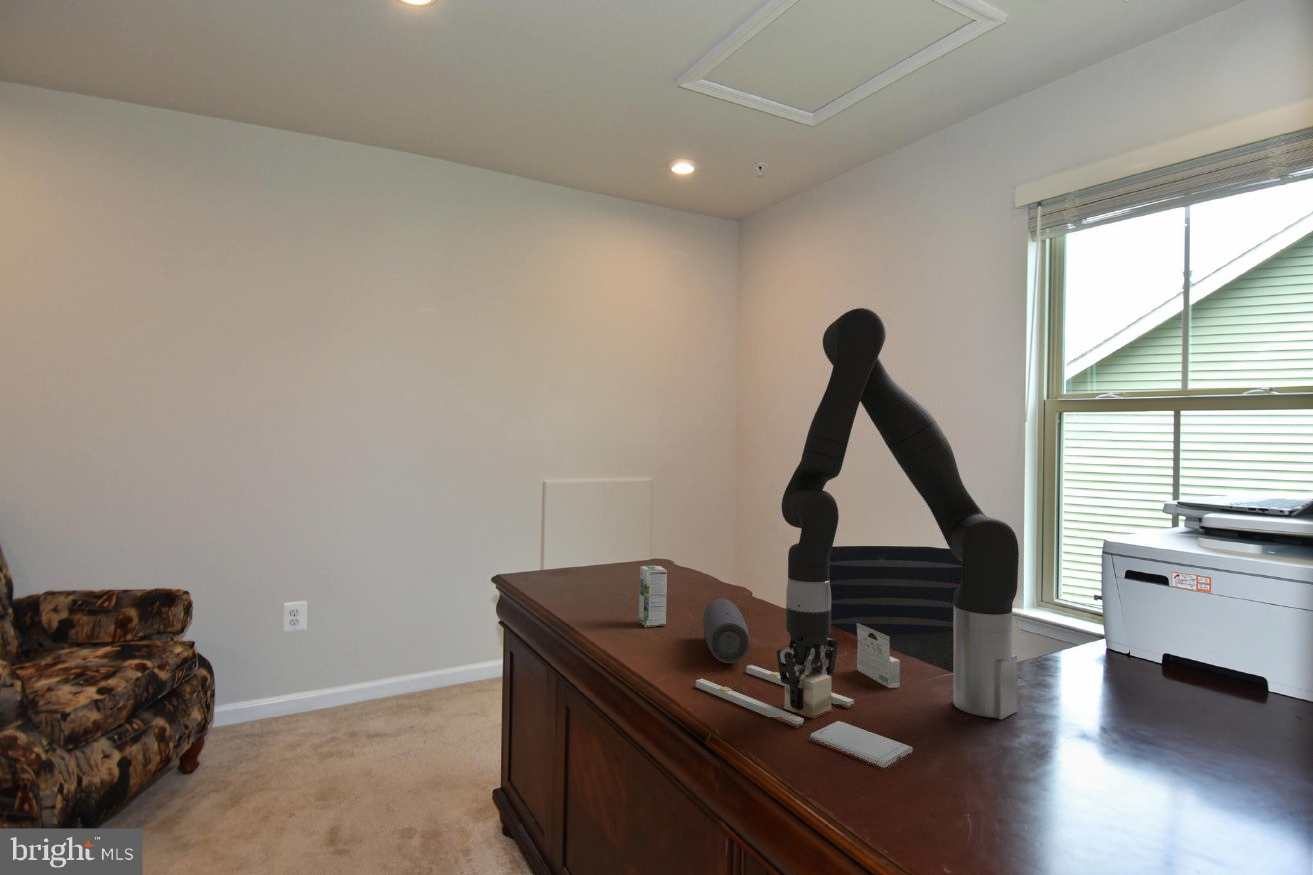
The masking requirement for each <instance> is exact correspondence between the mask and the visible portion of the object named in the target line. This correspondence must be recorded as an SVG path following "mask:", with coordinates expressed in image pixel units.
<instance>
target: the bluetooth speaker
mask: <svg viewBox="0 0 1313 875" xmlns="http://www.w3.org/2000/svg"><path fill="white" fill-rule="evenodd" d="M702 622H703V623H702V624H703V635H704V639H705V641H706V643H707V646H708V649H709V651H710V652H711V654H712V655H713V656H714V658H715V659H717V660H718V661H720V662H721V663H725V664H735V663H738V662H739V661H742V660H743V659H744V658H745V657H746V655H747V654H748V652H749V650H750V645H751V643H750V642H751V640H750V633H749V630H748V627H747V623H746V621H745V618H744V617H743V615H742V613H741V611H740V610H739V608H738V607H737V606H736V604H735V603H733V602H732V601H731V600H729V599H727V598H716V599H714V600H712V601H711V602H709V603H708V604H707V606H706V607H705V609H704V611H703V618H702Z"/></svg>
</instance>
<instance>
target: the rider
mask: <svg viewBox="0 0 1313 875" xmlns="http://www.w3.org/2000/svg"><path fill="white" fill-rule="evenodd" d="M787 677H789V675H788V673H787ZM798 677H799V673H798V672H797V673H796V679H797V680H798ZM803 688H804V703H803V709H802V710H797V709H794V708H792V707H791V704H790V686H789V685H787V684H785V686H784V709H785V710H788V711H791V712H793V713H795V712H796V711H799V712H800V711H801V712H804V713H808V714H809V715H817V714H820V713H823V712H825V711H829V710H831V711H832V703H831V692H832V675H831V676H830V675H828V676H827V675H824V674H820V673H819V672H817V671H811V669H810V670H809V674H808V675H806V676H805V680H804V685H803Z"/></svg>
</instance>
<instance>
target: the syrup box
mask: <svg viewBox="0 0 1313 875" xmlns="http://www.w3.org/2000/svg"><path fill="white" fill-rule="evenodd" d="M639 568H640V569H639V596H638V598H639V600H638V602H639V603H638V604H639V605H638V621H639V620H640V621H641V622H642V624H644V626H647V625H648V626H649V625H659V624H666V625H667V590H668V589H667V583H668V582H667V581H668V580H667V579H668V574H667V573H668V570H667V569H665V568H664V567H662V566H661V565H644V566H640V567H639Z"/></svg>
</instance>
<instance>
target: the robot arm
mask: <svg viewBox="0 0 1313 875" xmlns="http://www.w3.org/2000/svg"><path fill="white" fill-rule="evenodd" d="M886 334H887V331H886V326H885V323H884V321H883V319H882V318H881V316H880V315H879V314H878V313H877V312H876V311H874V310H872V309H869V308H864V307H857V308H852V309H851V310H848V311H846V312H844V313H843V314H842V315H840V316H839V317H838V318H837V319H835V320H834V321H833V322H832V323H830V324H829V326H827V328H826V329H825V331H824V334H823V336H822V348H823V350H824V354H825V356H826V358H827V359H828V361H829V363H831V365H832V369H831V373H830V374H831V375H830V377H829V381H828V383H827V385H826V389H825V390H824V394H823V397H822V398H821V400H820V402H819V405H818V406H817V409H816V411H815V413H814V416H813V419H812V420H811V423H810V426H809V429H808V432H807V436H806V440H805V443H804V447H803V451H802V454H801V460H800V462H799V464H798V465H797V467H796V469H795V470H794V472H793V474H792V476H791V478H790V480H789V481H788V484H787V486H786V488H785V490H784V493H783V494H782V495H783V496H782V499H781V515H782V517H783V519H784V521H785V522H786V523H787V524H788V525H790V526H791V527H794V528H798V529H801V530H800V535H799V539H798V540H799V541H798V542H797V543H795V544H792V545H791V546H790V547H789V548H788V553H787V554H788V556H787V557H788V558H787V585H786V593H785V595H786V596H785V598H786V599H785V602H786V603H785V614H786V615H785V630H786V632H787V633H789V637H790V640H789V642H788V647H786V648H785V649H780V648H779V649H777V650H776V658H777V666H778V673H780V679H781V682H782V683H784V684H787V685H789V686H790V704H791V707H792V708H794V709H797V710H802V709H803V703H804V688H803V685H804V680H805V676H806V675H808V674H809V670H811V671H817V672H819V673H820V674H824V675H827V676H830V675H831V676H833V675H834V673H835V668H836V666H835V665H836V661H837V653H838V645H839V641H838V640H836V639H834V638H830V637H827V636H829V635H831V632H832V592H831V591H832V590H831V583H830V582H831V580H830V579H831V578H830V577H831V575H830V572H831V566H830V565H831V564H830V563H831V562H830V561H831V560H830V558H831V557H830V556H831V552H832V549H833V545H834V543H835V537H836V533H837V530H838V526H839V525H838V524H839V517H840V516H839V508H838V504H837V501H836V499H835V498H834V496H833V495H832V494H831V493H829V492H828V491H826V490H824V488H825V486H826V484H827V482H829V481H831V480H833V479H835V478H837V477H838V476H839V475H840V473H841V470H842V467H843V463H844V460H845V457H846V453H847V450H848V445H849V440H850V437H851V433H852V429H853V426H854V422H855V418H856V415H857V411H858V408H859V405H860V404H861V405H862V407H863V408H864V410H865V412H866V413H867V415H868V416H869V418H870V420H871V421H872V423H873V425H874V426H875V428H876V429H877V431H878V432H879V434H880V436H881V438H882V440H883V441H884V443H885V445H886V446H887V448H888V449H889V451H890V453H891V454H892V456H893V457H894V459H895V461H896V462H897V463H898V465H899V467H900V468H901V469H902V471H903V472H904V474H905V475H906V477H907V478H908V479H909V480H908V481H910V482H911V484H912V485H913V486H914V488H915V490H916V491H917V492H918V494H919V495H920V496H921V498H922V499H923V501H925V502H924V503H926V506H928V508H929V510H930V512H931V514H932V515H933V516H932V517H933V518H934V520H935V521H936V524H937V526H938V528H939V529H940V530H939V531H940V532H941V534H942V536H943V538H944V540H945V542H946V544H947V546H948V548H949V550H950V551H951V553H952V555H953V556H954V557H955V558H956V559H957V560H959V562H961V577H960V578H961V580H960V583H959V586H958V587H957V588H956V589H955V590H954V592H953V652H952V653H953V654H952V655H953V675H952V676H953V681H952V682H953V688H952V694H953V700H952V701H953V705H954V707H955V708H957V709H958V710H960V711H962V712H964V713H967V714H971V715H975V716H979V717H986V718H994V719H998V720H1004V719H1005V718H1008V717H1009V716H1011V715H1013V714H1015V713H1017V712H1018V656H1017V655H1016V654H1013V603H1014V601H1015V599H1016V596H1017V593H1018V582H1019V579H1018V578H1019V564H1020V563H1019V562H1020V561H1019V559H1020V557H1019V556H1020V553H1019V550H1020V548H1019V542H1018V538H1017V535H1016V533H1015V531H1014V530H1013V528H1012V527H1011V526H1010V525H1009V524H1008V523H1007V522H1005V521H1003V520H1001V519H998V518H994V517H989V516H987V515H986V514H985V513H984V512H983V511H982V509H981V508H980V507H979V505H978V504H977V502H975V500H974V499H973V497H972V496H971V494H970V493H969V492H968V490H967V488H966V487H965V484H964V483H963V480H962V478H961V475H960V472H959V469H958V468H959V467H958V464H957V461H956V458H955V454H954V451H953V450H952V449H953V448H952V446H951V444H950V443H949V441H948V438H947V437H946V435H945V433H944V432H943V430H942V429H941V427H940V426H939V424H938V422H937V421H936V419H935V417H934V416H933V415H932V414H931V412H930V411H929V410H928V408H926V406H925V405H923V404H922V403H921V402H920V401H919V400H918V399H917V398H916V397H915V396H913V395H912V394H910V392H908V391H907V390H906V389H904V388H903V387H902V386H901V385H900V384H899V383H898V382H896V380H894V378H893V377H892V375H890V373H889V372H888V370H887V368H885V365H884V364H883V362H882V360H881V359H880V357H879V356H880V353H881V351H882V349H883V346H884V344H885V342H886V338H887V337H886V336H887V335H886ZM827 660H828V661H827ZM798 665H799V666H800V667H799V666H798ZM797 672H798V673H799V677H798V680H797V679H796V673H797ZM787 673H788V675H789V677H787Z"/></svg>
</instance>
